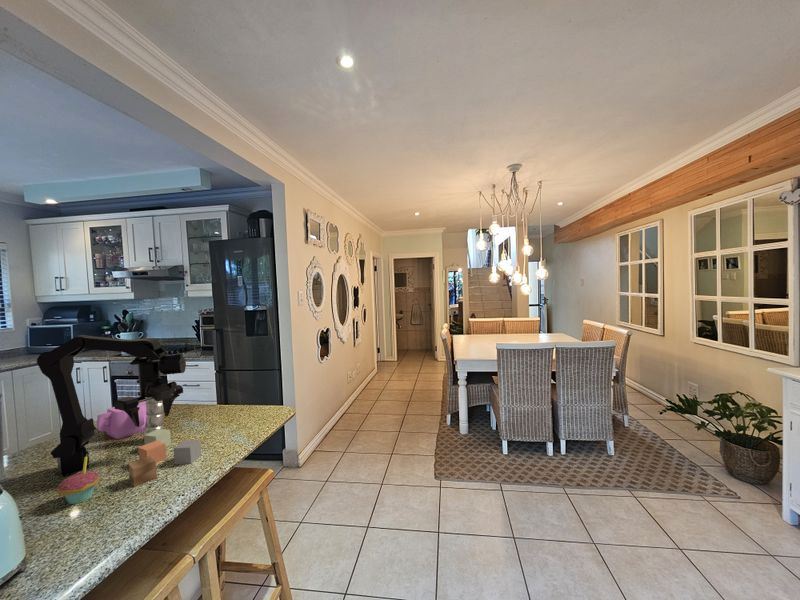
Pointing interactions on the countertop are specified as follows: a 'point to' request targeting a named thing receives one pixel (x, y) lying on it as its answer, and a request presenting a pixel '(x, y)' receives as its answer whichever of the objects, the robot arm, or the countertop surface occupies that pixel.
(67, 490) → the cupcake
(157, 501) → the countertop surface
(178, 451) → the slate block
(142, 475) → the walnut block
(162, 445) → the terracotta block
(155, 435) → the sage block
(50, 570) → the countertop surface
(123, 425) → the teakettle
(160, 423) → the plastic bottle
